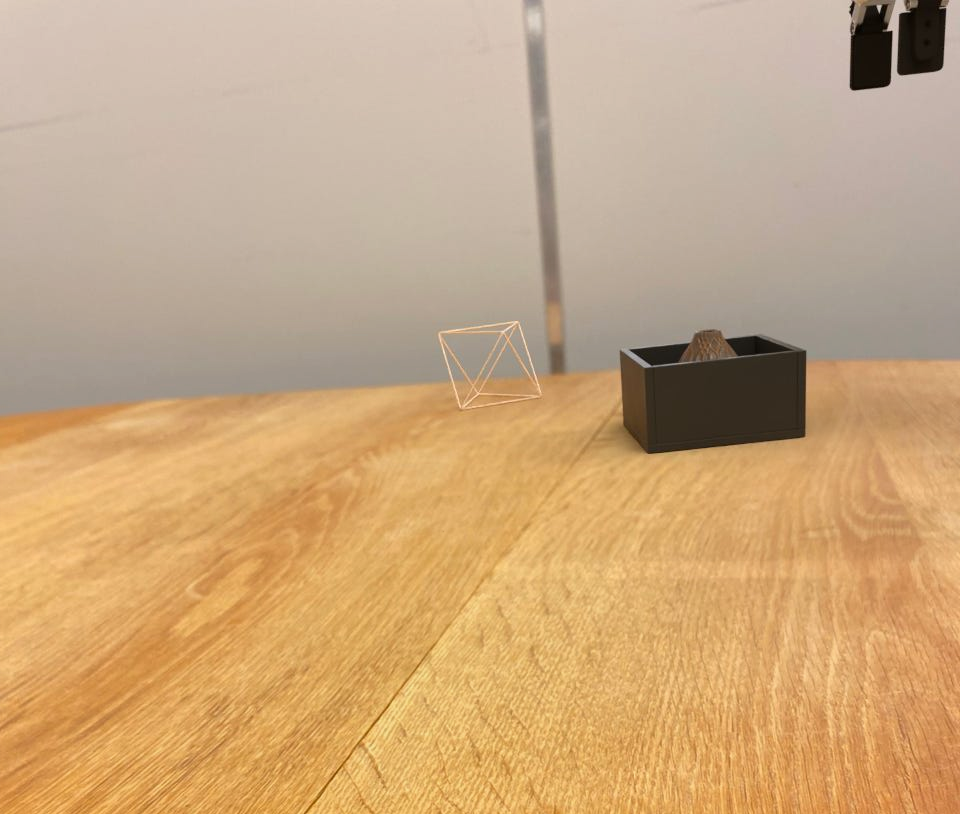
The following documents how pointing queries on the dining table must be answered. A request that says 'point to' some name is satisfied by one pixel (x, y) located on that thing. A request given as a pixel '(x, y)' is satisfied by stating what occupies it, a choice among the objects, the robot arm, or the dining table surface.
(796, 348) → the bin
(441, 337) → the geometric polyhedron
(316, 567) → the dining table surface
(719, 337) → the vase
